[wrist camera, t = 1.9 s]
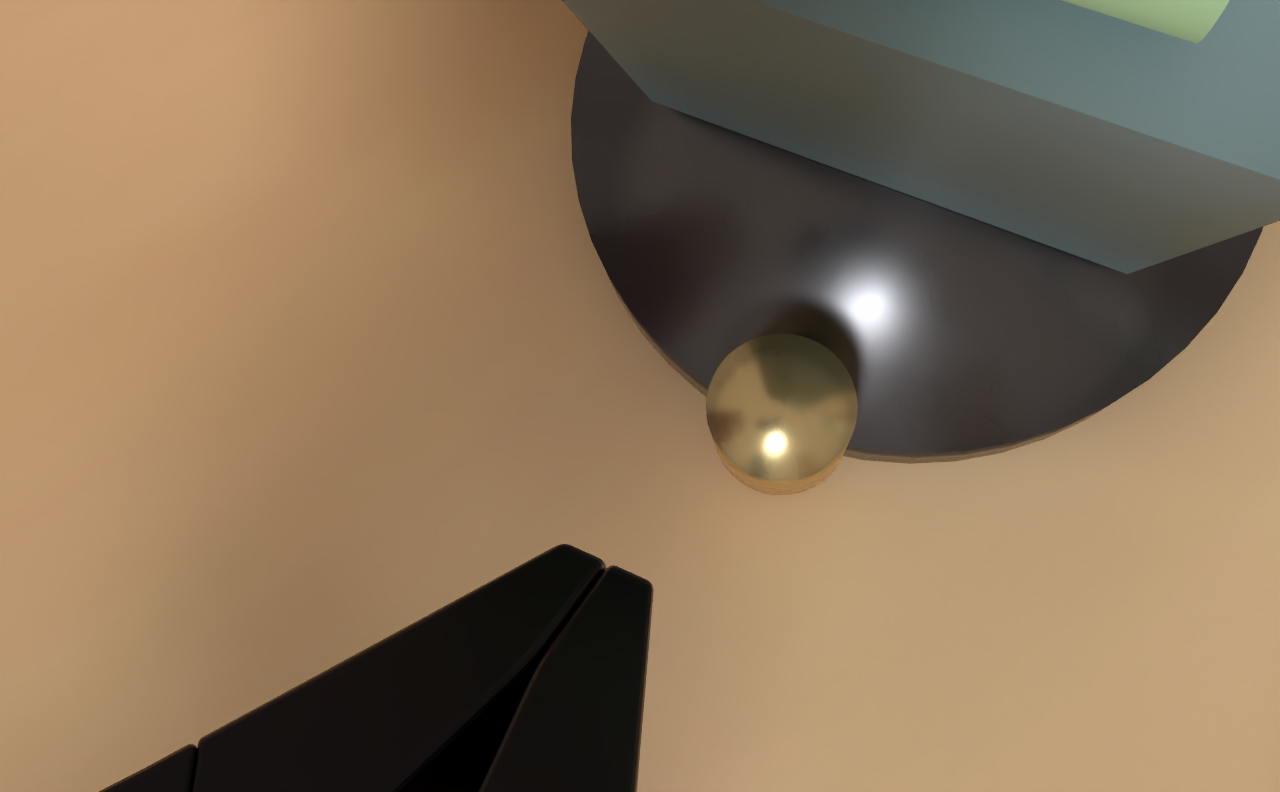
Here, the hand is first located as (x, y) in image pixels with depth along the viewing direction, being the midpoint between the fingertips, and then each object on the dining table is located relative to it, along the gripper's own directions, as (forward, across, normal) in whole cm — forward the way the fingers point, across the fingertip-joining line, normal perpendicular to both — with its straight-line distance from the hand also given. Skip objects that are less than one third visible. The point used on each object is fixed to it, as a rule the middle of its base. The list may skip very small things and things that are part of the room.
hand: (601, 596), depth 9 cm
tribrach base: (+17, 0, +2) cm, 17 cm away
